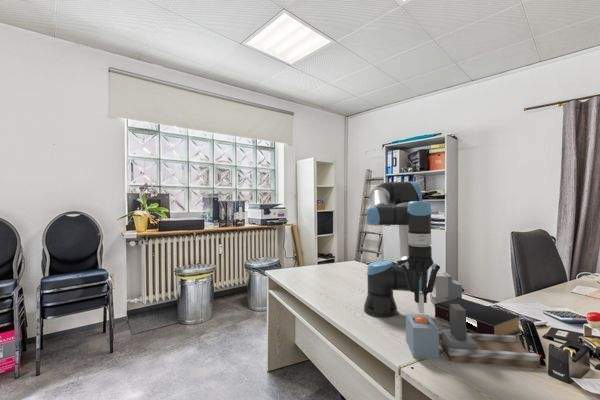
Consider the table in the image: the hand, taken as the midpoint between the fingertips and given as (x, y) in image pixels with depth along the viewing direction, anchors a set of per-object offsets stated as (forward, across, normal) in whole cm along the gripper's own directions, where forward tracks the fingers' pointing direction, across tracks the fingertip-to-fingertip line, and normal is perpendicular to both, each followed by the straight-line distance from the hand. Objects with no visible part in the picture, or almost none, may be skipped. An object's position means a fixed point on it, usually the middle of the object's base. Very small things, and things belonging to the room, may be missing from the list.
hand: (420, 311), depth 101 cm
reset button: (+6, 0, 0) cm, 6 cm away
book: (+14, +27, +23) cm, 38 cm away
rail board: (+13, +20, -1) cm, 24 cm away
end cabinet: (+13, 0, -1) cm, 13 cm away
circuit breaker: (+14, +24, +46) cm, 54 cm away
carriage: (+11, +12, -1) cm, 16 cm away
